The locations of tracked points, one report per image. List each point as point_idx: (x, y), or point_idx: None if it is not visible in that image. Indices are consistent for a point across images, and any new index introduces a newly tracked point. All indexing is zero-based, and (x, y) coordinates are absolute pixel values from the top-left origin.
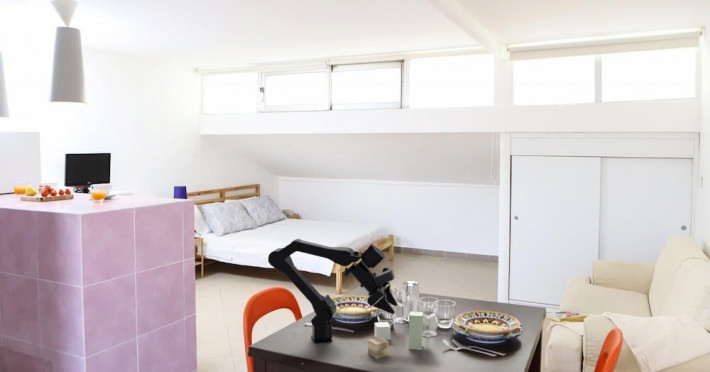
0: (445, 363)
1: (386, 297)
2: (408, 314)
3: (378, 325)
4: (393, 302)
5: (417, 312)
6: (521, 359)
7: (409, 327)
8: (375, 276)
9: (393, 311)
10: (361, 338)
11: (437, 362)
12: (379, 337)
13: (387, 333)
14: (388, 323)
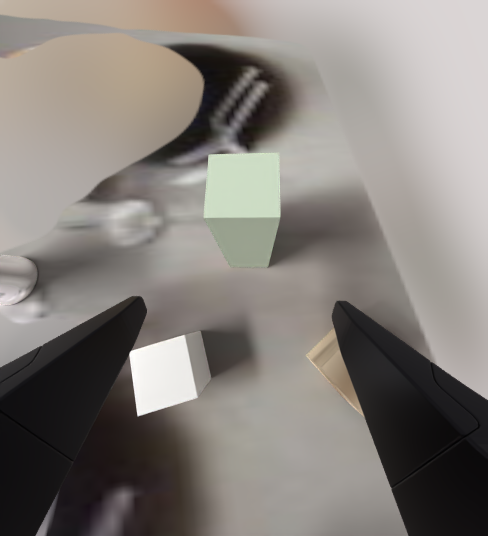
0: (345, 172)
1: (65, 423)
2: (1, 280)
3: (175, 391)
4: (125, 330)
5: (217, 180)
6: (275, 44)
7: (273, 242)
8: None
9: (354, 310)
10: (200, 442)
11: (345, 189)
12: (328, 371)
13: (195, 343)
14: (145, 347)
